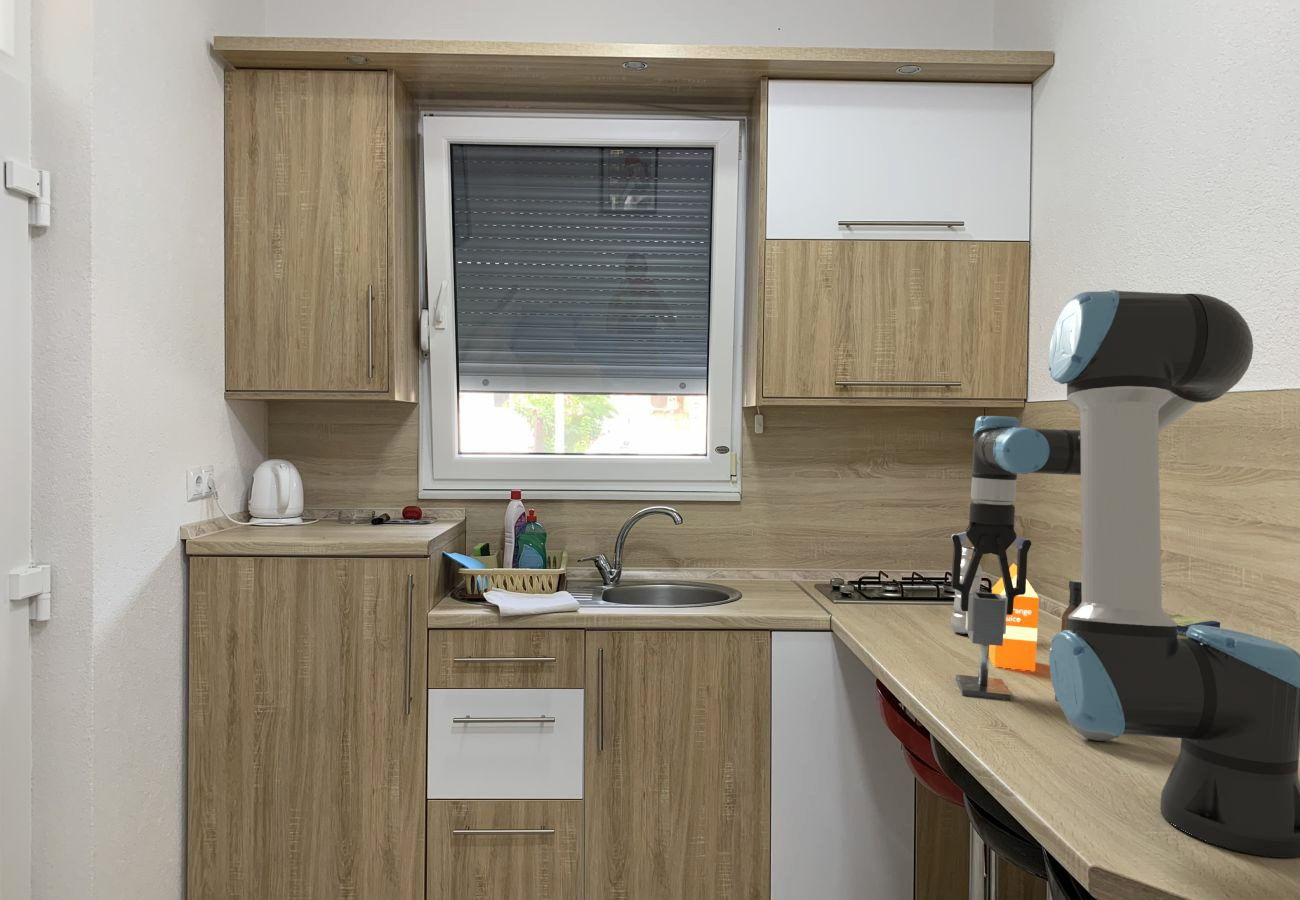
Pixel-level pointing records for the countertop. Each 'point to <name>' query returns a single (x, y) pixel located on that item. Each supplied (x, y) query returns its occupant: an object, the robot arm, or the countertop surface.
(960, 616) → the plastic bottle
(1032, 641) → the orange juice
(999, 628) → the grey rectangular holder
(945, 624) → the countertop surface
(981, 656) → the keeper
